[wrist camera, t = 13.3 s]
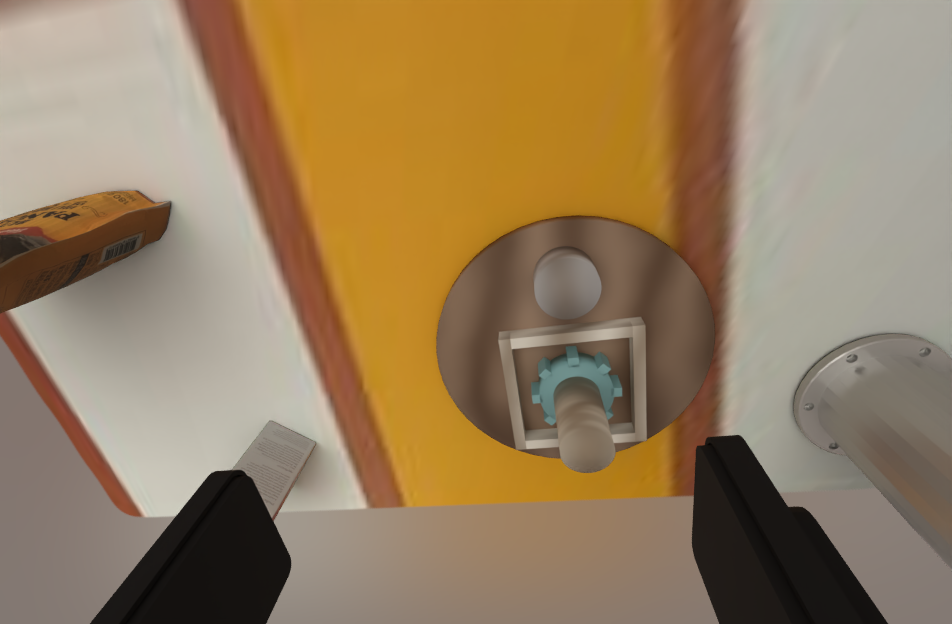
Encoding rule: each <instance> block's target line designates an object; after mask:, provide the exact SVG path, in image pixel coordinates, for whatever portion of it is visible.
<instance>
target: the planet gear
mask: <svg viewBox="0 0 952 624" xmlns="http://www.w3.org/2000/svg"><path fill="white" fill-rule="evenodd" d="M610 370H611V367H610V364H609V361H608V358H607V356H605V355H604V354H602V353H601V352H600V351H599V352H598V353H597V354H596V355H595V356H592V355H589V354H586V353H579V352H577V347H576V346H567V347H566V354H562V355H559V356H557V357H555V358H553V359H552V360H551V361H550V360H548V359H547V358H545V357H543V358H542V360H541V361H540V362H539V363H538V373H539V376H540V377H539V382H531V390H532V401H533V404H535V403H541V405H542V407H543V411H544V421H546V422H547V423H549V424H550V425H553V424H554V423H555V422H556V424H557V433H558V441H559V450H560V457H561V459H562V461H563V463H564V464H565V465H566V466H567V467H569V468H570V469H572V470H574V471H577V472H582V473H592V472H597V471H600V470H602V469H604V468H606V467H607V466H608V465H609V464H610V463H611V462H612V461H613V459H614V457H615V446H614V442H613V438H612V435H611V431H610V427H609V424H608V420H609V419H610V418H611V417H612V416H613V412H612V408H611V405H612V403H613V400H614V397H619V396H622V386H621V384H620V381H619V378H618V375H609V371H610Z"/></svg>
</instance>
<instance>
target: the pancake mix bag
mask: <svg viewBox="0 0 952 624" xmlns="http://www.w3.org/2000/svg"><path fill="white" fill-rule="evenodd" d="M170 202H171V201H168V202H159V203H154V202H153V201H151V200H150V199H149V198H147V197H146V196H144V195H143V194H142V193H140V192H139V191H112V192H102V193H97V194H93V195H88V196H84V197H80V198H75V199H72V200H68V201H65V202H61V203H58V204H54V205H50V206H46V207H43V208H39V209H36V210H32V211H29V212H26V213H23V214H20V215H17V216H14V217H11V218H8V219H4V220H1V221H0V313H2V312H5V311H7V310H10V309H13V308H16V307H18V306H21V305H23V304H26V303H29V302H31V301H34V300H36V299H39V298H41V297H43V296H46V295H48V294H50V293H52V292H55V291H57V290H59V289H62V288H64V287H66V286H68V285H71V284H73V283H75V282H77V281H79V280H81V279H84V278H86V277H88V276H90V275H92V274H94V273H96V272H98V271H100V270H102V269H104V268H106V267H107V266H109V265H111V264H113V263H115V262H117V261H120V260H122V259H124V258H126V257H128V256H130V255H131V254H133V253H135V252H137V251H138V250H139V249H141V248H142V247H144V246H145V245H146V244H149V243H152V242H154V241H157V240H159V239H160V238H161V236H162V235H163V233H164V232H165V230H166V228H167V223H168V219H169V213H170Z"/></svg>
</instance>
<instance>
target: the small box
mask: <svg viewBox="0 0 952 624" xmlns="http://www.w3.org/2000/svg"><path fill="white" fill-rule="evenodd" d="M315 445H316V442H314V441H312V440H310V439H308V438H306V437H304V436H301V435H299V434H297V433H295V432H293V431H291V430H289V429H287V428H285V427H283V426H281V425H279V424H277V423H275V422H273V421H269V422H268V423H267V425H266V426H265V427H264V428H263V430H262V431H261V432H260V434H259V435H258V436H257V437H256V439H255V440H254V441H253V443H252V444H251V445H250V447H249V448H248V449H247V451H246V452H245V453H244V454H243V456H242V457H241V458H240V460H239V461H238V462H237V463H236V465H235V466H234V467H233V469H232V470H243V471H244V472H245V473H246V474H247V476H250V477H251V478H252V479H253V480H254V483H255V485H256V487H257V489H258V491H259V493H260V495H261V497H262V499H263V501H264V503H265V505H266V507H267V509H268V511H269V514H270V516H271V518H272V520H273V521H274V519H275V517H276V516H277V514H278V512H279V510H280V509H281V507H282V505H283V503H284V501H285V500H286V498H287V496H288V494H289V493H290V491H291V489H292V487H293V485H294V483H295V481H296V479H297V478H298V476H299V474H300V472H301V470H302V468H303V467H304V465H305V463H306V461H307V459H308V458H309V456H310V454H311V452H312V450H313V448H314V447H315Z"/></svg>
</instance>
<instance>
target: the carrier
mask: <svg viewBox="0 0 952 624" xmlns="http://www.w3.org/2000/svg"><path fill="white" fill-rule="evenodd" d="M714 343H715V324H714V319H713V313H712V308H711V305H710V302H709V300H708V297H707V294H706V292H705V290H704V288H703V286H702V284H701V283H700V281H699V279H698V277H697V276H696V275H695V273H694V272H693V271H692V270H691V268H690V267H689V266H688V265H687V263H686V262H685V261H684V260H683V259H682V258H681V257H680V256H679V255H678V254H677V253H676V252H674V251H673V250H672V249H671V248H670V247H669V246H668V245H667V244H665V243H664V242H662V241H661V240H659V239H658V238H657V237H655V236H654V235H652V234H650V233H648V232H646V231H644V230H642V229H640V228H638V227H636V226H633V225H630V224H627V223H624V222H621V221H618V220H613V219H608V218H602V217H595V216H565V217H556V218H551V219H546V220H541V221H537V222H534V223H531V224H528V225H525V226H522V227H520V228H517V229H515V230H513V231H511V232H509V233H507V234H505V235H503V236H502V237H500V238H499V239H497V240H496V241H494V242H492V243H491V244H489V245H488V246H487V247H485V248H484V249H483V250H482V251H481V252H480V253H479V254H477V255H476V256H475V257H474V258H473V259H472V260H471V261H470V262H469V264H468V265H467V266H466V267H465V268H464V269H463V270H462V272H461V273H460V275H459V276H458V278H457V279H456V281H455V282H454V284H453V286H452V288H451V290H450V292H449V294H448V296H447V298H446V301H445V304H444V307H443V310H442V313H441V317H440V320H439V325H438V332H437V358H438V364H439V369H440V372H441V376H442V379H443V382H444V384H445V386H446V388H447V390H448V393H449V395H450V396H451V398H452V399H453V401H454V402H455V404H456V405H457V407H458V408H459V409H460V411H461V412H462V413H463V414H464V415H465V416H466V418H467V419H468V420H470V421H471V422H472V423H473V424H474V425H475V426H476V427H477V428H478V429H480V430H481V431H483V432H484V433H486V434H487V435H488V436H490V437H491V438H493V439H495V440H497V441H499V442H500V443H502V444H504V445H507V446H509V447H511V448H514V449H516V450H519V451H522V452H526V453H529V454H533V455H538V456H543V457H549V458H560V459H561V457H560V450H559V441H558V433H557V424H556V422H555V423H554V424H553V425H550V424H549V423H547V422H546V421H544V411H543V407H542V405H541V403H535V404H533V401H532V390H531V382H539V377H540V376H539V373H538V363H539V362H540V361H541V360H542V358H543V357H545V358H547V359H548V360H550V361H551V360H552V359H553V358H555V357H557V356H559V355H562V354H566V347H567V346H576V347H577V352H579V353H586V354H589V355H592V356H595V355H596V354H597V353H598V352H599V351H600V352H601V353H602V354H604V355H605V356H607V358H608V361H609V364H610V367H611V370H610V371H609V375H618V378H619V381H620V384H621V386H622V396H619V397H614V400H613V403H612V405H611V408H612V412H613V416H612V417H611V418H610V419H609V420H608V424H609V427H610V431H611V435H612V438H613V442H614V446H615V452H618V451H621V450H624V449H627V448H629V447H632V446H634V445H636V444H639V443H641V442H643V441H647V439H648V438H650V437H652V436H653V435H655V434H657V433H658V432H660V431H661V430H662V429H664V428H665V427H666V426H668V425H669V424H670V423H672V422H673V421H674V420H675V419H676V418H677V417H678V416H679V415H680V414H681V413H682V412H683V411H684V410H685V409H686V407H687V406H688V405H689V404H690V403H691V401H692V400H693V399H694V397H695V396H696V394H697V393H698V391H699V389H700V388H701V386H702V384H703V382H704V380H705V378H706V375H707V373H708V370H709V367H710V364H711V360H712V357H713V350H714Z"/></svg>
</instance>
